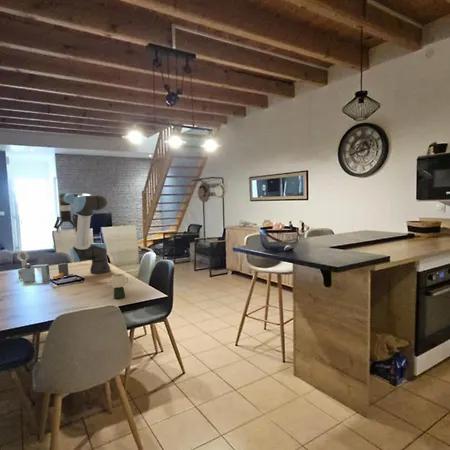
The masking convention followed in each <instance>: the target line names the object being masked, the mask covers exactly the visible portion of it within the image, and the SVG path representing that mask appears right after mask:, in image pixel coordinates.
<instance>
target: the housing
mask: <svg viewBox="0 0 450 450" xmlns="http://www.w3.org/2000/svg"><path fill="white" fill-rule="evenodd" d="M24 267H25V268H23V269H22V268H21V269H22V273H23V279H22V281H23V283H31V282H30V281H33V282H36V281H35V280H36V272H35V271H36V270H35V269H41V279H42V280H41V281H42V282H48V280H49V279H51V275H50V264H49V263H48V264H34V265H32V263H27V264H26V265H25V266H24ZM49 281H50V280H49Z"/></svg>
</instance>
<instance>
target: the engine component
mask: <svg viewBox="0 0 450 450" xmlns="http://www.w3.org/2000/svg"><path fill="white" fill-rule="evenodd" d="M21 254H24V255H25V258H24V259H23V258H22V257H21ZM16 258H17V260H19V261H20V262H21V268H19V269H17V275H18V279H19V278H23V273H22V269H23V268H25V267H24V266H25V265H26V264H28V262H27V261H28V260H29V258H30V255H29V253H28V252H27V251H25V250H22V251H19V252H18V253H17V255H16Z"/></svg>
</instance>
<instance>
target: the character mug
mask: <svg viewBox="0 0 450 450" xmlns="http://www.w3.org/2000/svg"><path fill="white" fill-rule="evenodd" d="M107 282H108V283H107V284H108V287H109V286H112V287H113V298H114V299H122V298H124V297H126V292H125V289H124V287H125V286H126V283H129V277H128V276H125V274H124V273H117V274H113V275H111V278H110V279H109V280H107Z"/></svg>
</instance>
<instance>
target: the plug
mask: <svg viewBox="0 0 450 450" xmlns="http://www.w3.org/2000/svg"><path fill="white" fill-rule="evenodd" d="M57 267H58V268H57V269H58V273H57V274H55V275H52V278H53V279H57V278H61V277H63V276H66V275H68V274H70V273H69V264H68V263H67V262H63V263H58V265H57ZM53 279H52V280H53ZM57 280H58V279H57Z"/></svg>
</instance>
